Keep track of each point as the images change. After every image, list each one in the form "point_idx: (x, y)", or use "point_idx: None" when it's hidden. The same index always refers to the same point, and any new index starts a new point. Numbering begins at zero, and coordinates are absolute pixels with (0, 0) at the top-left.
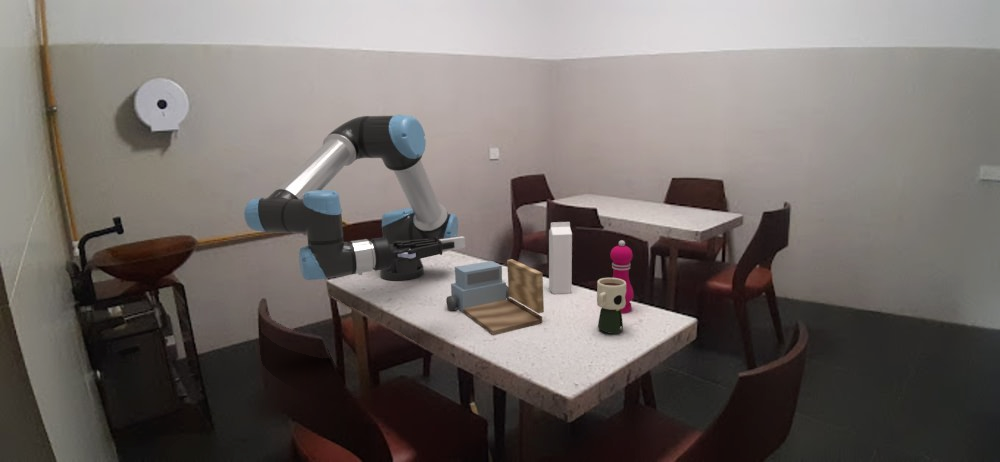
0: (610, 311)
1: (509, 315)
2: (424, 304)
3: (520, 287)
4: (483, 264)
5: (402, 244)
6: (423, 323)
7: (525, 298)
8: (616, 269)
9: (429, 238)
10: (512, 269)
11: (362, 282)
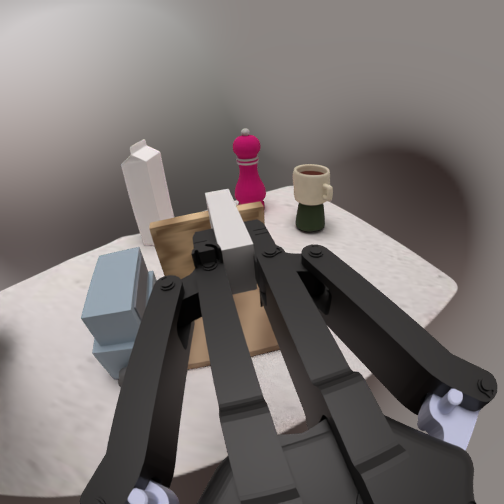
0: (321, 204)
1: (236, 304)
2: (86, 424)
3: None
4: (108, 269)
5: (410, 461)
6: (189, 458)
7: None
8: (253, 164)
9: (162, 285)
10: (172, 236)
11: None
